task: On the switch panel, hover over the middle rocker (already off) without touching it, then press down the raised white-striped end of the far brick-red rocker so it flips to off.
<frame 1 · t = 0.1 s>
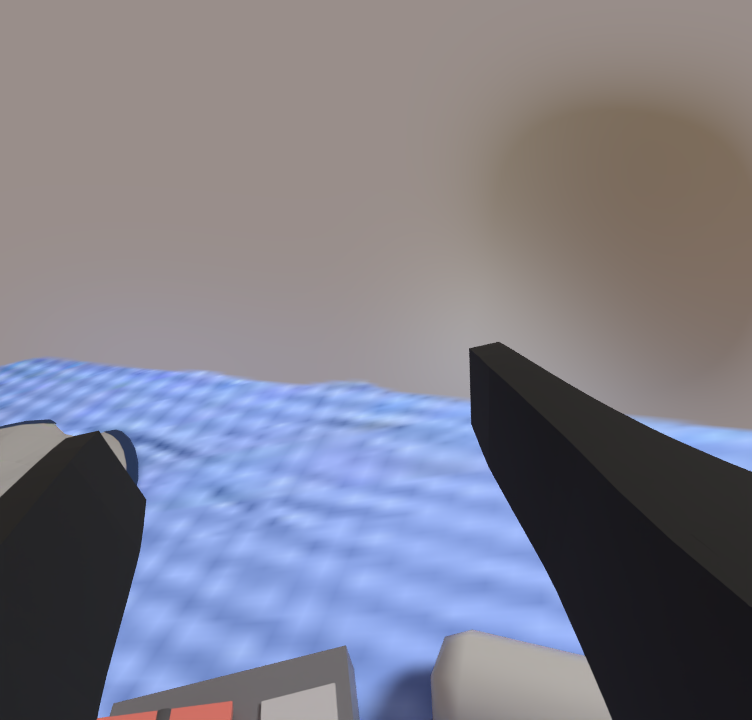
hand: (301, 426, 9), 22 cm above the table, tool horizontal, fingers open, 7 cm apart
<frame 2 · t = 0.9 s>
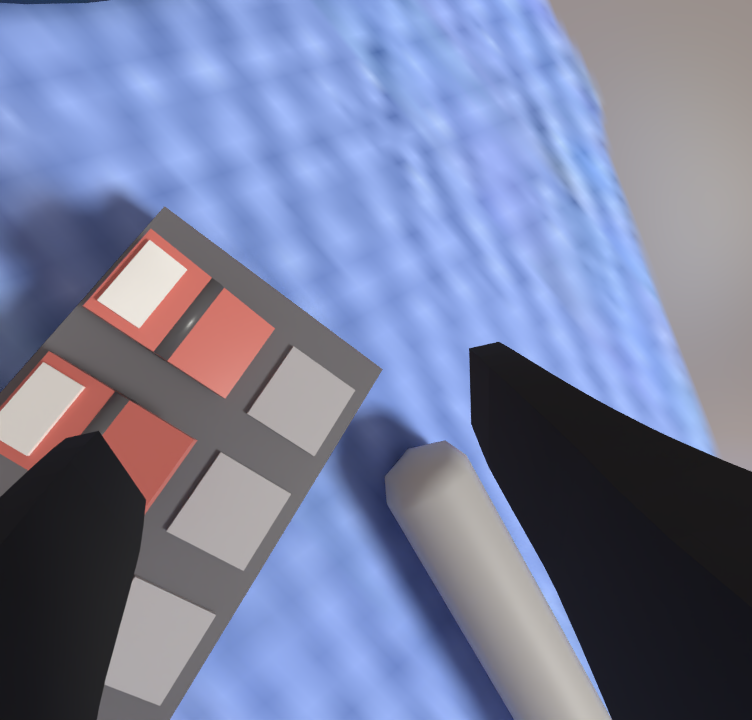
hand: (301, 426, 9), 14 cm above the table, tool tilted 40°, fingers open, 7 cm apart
rocker 3: (187, 318, 18), point 4 cm above the table, hinge at 14.0°
switch panel: (158, 460, 21), on the table
rocker 2: (92, 439, 16), point 4 cm above the table, hinge at -14.0°
tube: (487, 618, 28), on the table
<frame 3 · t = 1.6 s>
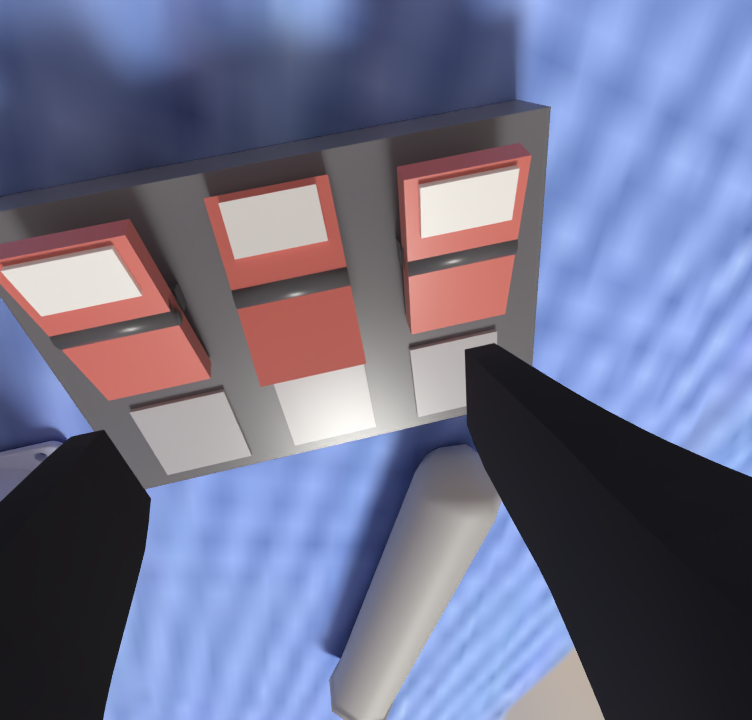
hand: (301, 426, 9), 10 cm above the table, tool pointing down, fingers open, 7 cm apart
rocker 3: (459, 251, 15), point 4 cm above the table, hinge at 14.0°
switch panel: (304, 301, 19), on the table
rocker 2: (292, 285, 14), point 4 cm above the table, hinge at -14.0°
rocker 1: (117, 323, 14), point 4 cm above the table, hinge at 14.0°
tube: (395, 562, 32), on the table
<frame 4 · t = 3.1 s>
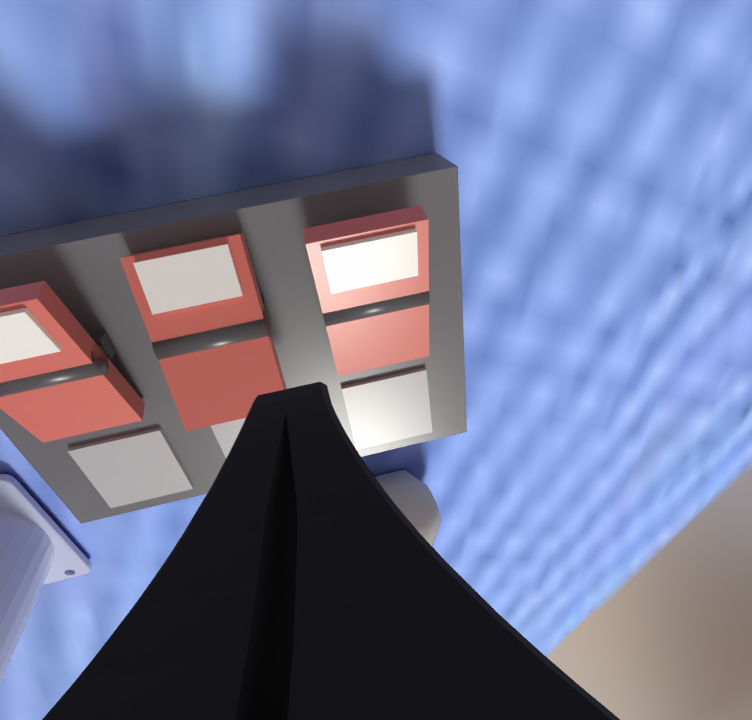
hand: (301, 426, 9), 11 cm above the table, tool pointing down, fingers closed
rocker 3: (374, 302, 16), point 4 cm above the table, hinge at 14.0°
switch panel: (242, 340, 20), on the table
rocker 2: (213, 336, 15), point 4 cm above the table, hinge at -14.0°
rocker 1: (43, 373, 15), point 4 cm above the table, hinge at 14.0°
tube: (362, 581, 33), on the table
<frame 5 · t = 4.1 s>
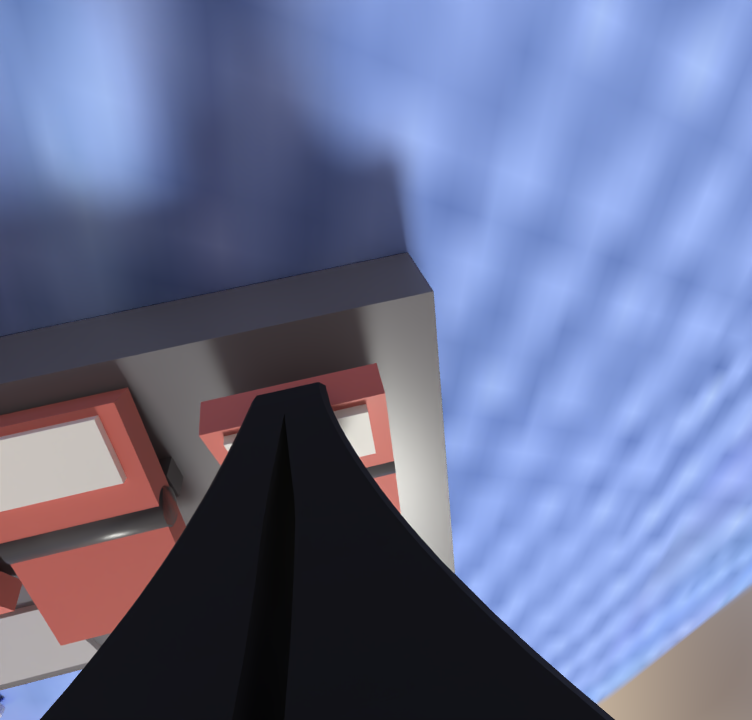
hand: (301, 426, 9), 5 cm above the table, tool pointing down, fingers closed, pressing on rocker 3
rocker 3: (320, 471, 11), point 4 cm above the table, hinge at 13.8°, touching gripper
switch panel: (166, 474, 15), on the table
rocker 2: (91, 524, 11), point 4 cm above the table, hinge at -14.0°
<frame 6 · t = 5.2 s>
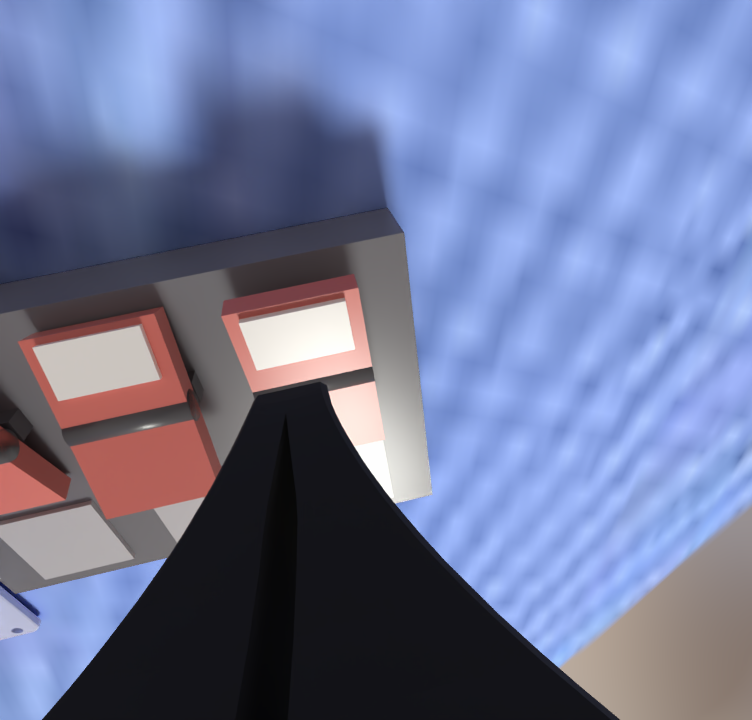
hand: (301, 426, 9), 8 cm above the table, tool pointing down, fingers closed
rocker 3: (314, 379, 14), point 4 cm above the table, hinge at 3.3°
switch panel: (186, 401, 18), on the table
rocker 2: (132, 418, 14), point 4 cm above the table, hinge at -14.0°
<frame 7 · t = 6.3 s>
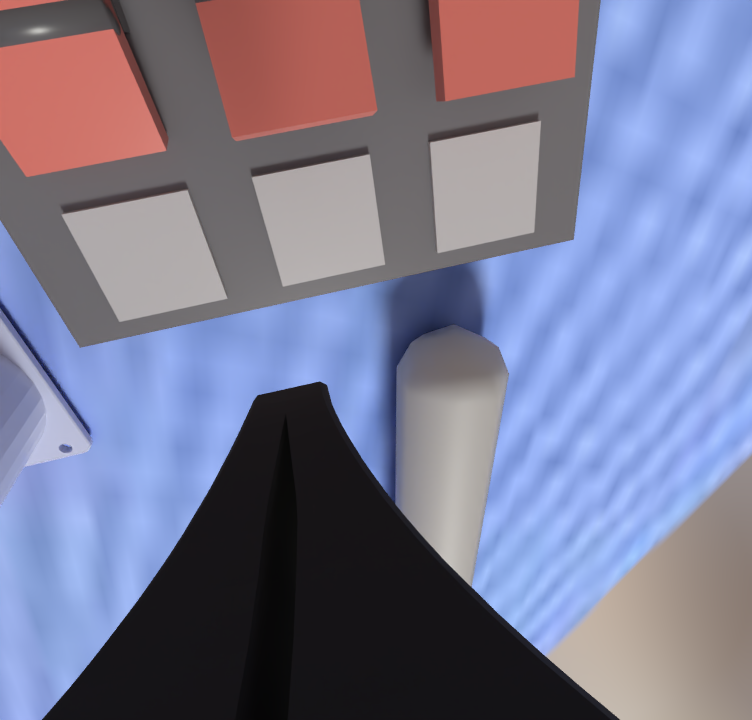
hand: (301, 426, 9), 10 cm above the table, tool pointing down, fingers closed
switch panel: (293, 94, 15), on the table
rocker 1: (24, 22, 10), point 4 cm above the table, hinge at 14.0°
tube: (424, 490, 28), on the table
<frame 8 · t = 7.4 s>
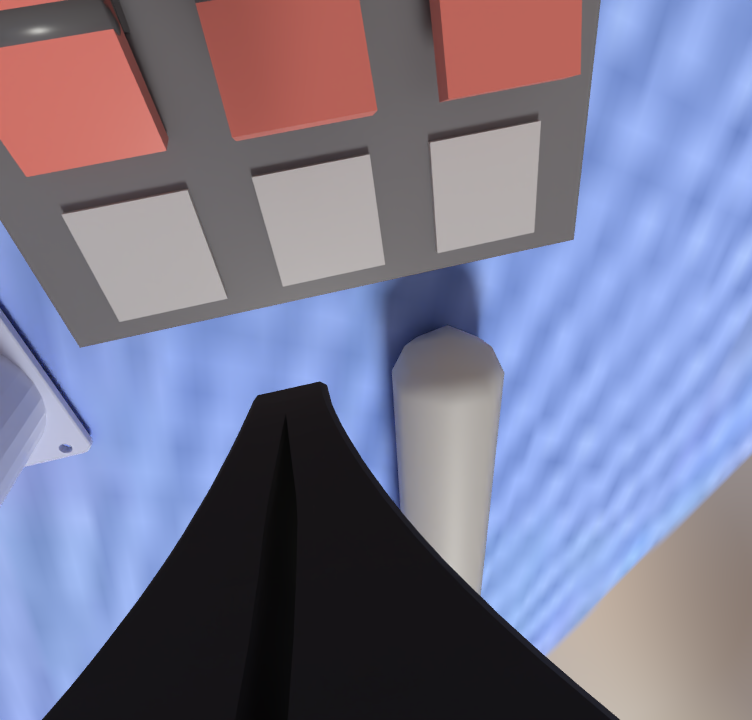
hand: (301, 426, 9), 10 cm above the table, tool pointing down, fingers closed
switch panel: (293, 94, 15), on the table
rocker 1: (24, 22, 10), point 4 cm above the table, hinge at 14.0°
tube: (429, 489, 28), on the table
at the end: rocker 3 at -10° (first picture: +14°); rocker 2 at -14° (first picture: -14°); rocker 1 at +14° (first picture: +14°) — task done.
